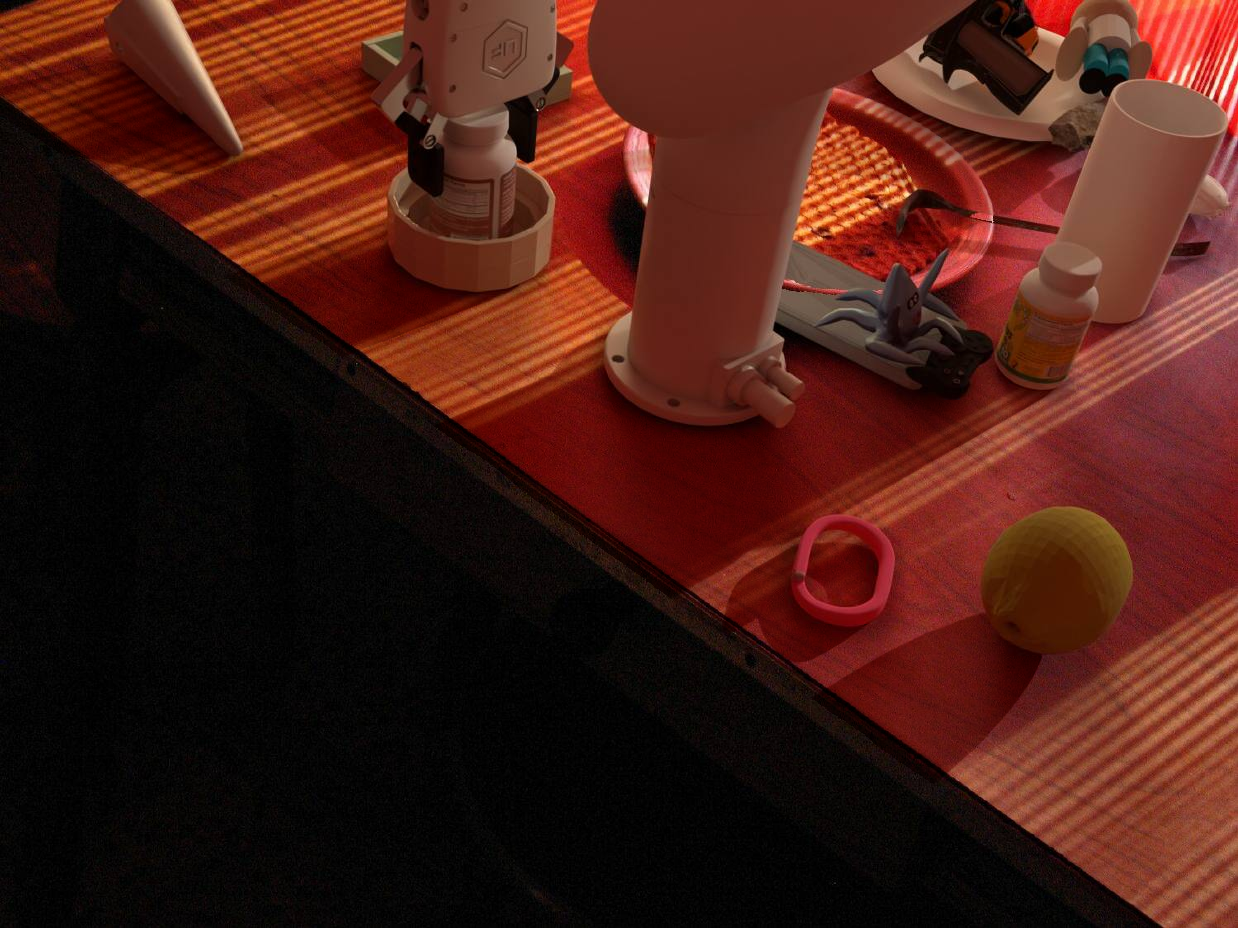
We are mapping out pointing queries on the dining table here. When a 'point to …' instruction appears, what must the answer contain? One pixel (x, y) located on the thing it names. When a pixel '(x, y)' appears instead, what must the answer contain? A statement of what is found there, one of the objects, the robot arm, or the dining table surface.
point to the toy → (1103, 47)
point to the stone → (1078, 126)
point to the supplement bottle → (1050, 317)
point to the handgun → (986, 56)
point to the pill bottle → (476, 177)
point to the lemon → (1056, 580)
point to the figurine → (917, 331)
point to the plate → (982, 94)
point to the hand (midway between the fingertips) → (472, 169)
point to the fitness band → (884, 578)
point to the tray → (388, 53)
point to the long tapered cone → (170, 64)
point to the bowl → (470, 259)
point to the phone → (842, 335)
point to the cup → (1141, 187)
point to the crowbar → (1009, 220)
